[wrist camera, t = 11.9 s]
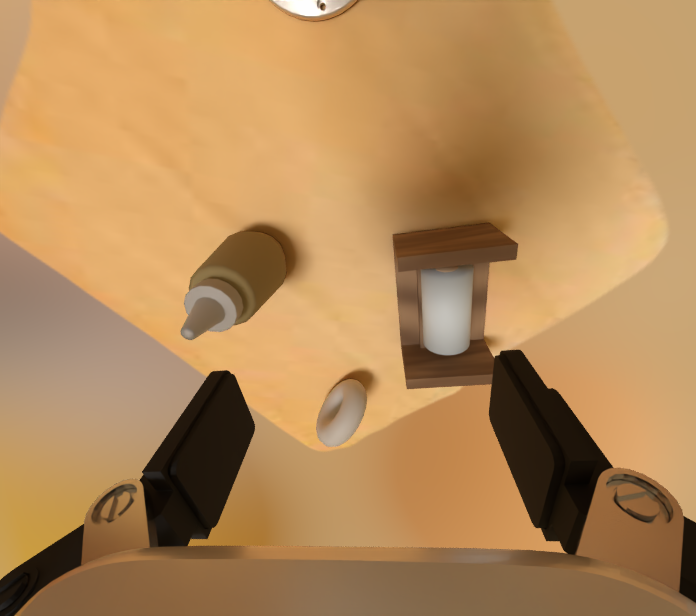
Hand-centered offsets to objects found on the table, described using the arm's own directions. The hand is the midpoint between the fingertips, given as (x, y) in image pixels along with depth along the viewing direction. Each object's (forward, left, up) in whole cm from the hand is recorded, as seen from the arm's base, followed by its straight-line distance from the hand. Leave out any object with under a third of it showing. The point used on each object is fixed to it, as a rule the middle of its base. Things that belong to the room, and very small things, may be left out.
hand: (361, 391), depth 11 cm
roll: (+11, +8, -24) cm, 28 cm away
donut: (+26, -7, -28) cm, 39 cm away
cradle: (+11, +8, -28) cm, 31 cm away
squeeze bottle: (+3, -14, -28) cm, 32 cm away
